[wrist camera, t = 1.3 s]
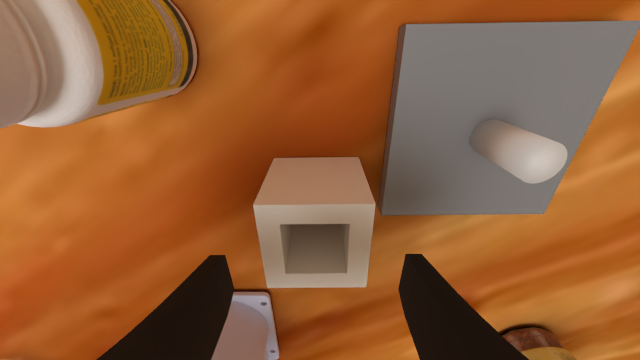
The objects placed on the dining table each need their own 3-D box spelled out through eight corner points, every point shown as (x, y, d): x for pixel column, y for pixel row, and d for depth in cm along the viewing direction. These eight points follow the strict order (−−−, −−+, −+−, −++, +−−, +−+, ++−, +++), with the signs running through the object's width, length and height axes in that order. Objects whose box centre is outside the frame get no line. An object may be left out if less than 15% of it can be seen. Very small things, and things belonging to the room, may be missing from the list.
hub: (354, 224, 17) (366, 287, 12) (281, 225, 17) (267, 287, 12) (358, 156, 14) (375, 204, 10) (273, 157, 14) (252, 205, 10)
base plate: (531, 204, 16) (602, 256, 12) (378, 206, 16) (397, 257, 12) (617, 23, 11) (782, 6, 7) (399, 26, 11) (443, 11, 7)
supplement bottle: (143, -45, 10) (-358, -320, 3) (220, 63, 12) (54, 80, 5) (73, 25, 11) (-413, -29, 4) (153, 113, 13) (-67, 193, 6)
